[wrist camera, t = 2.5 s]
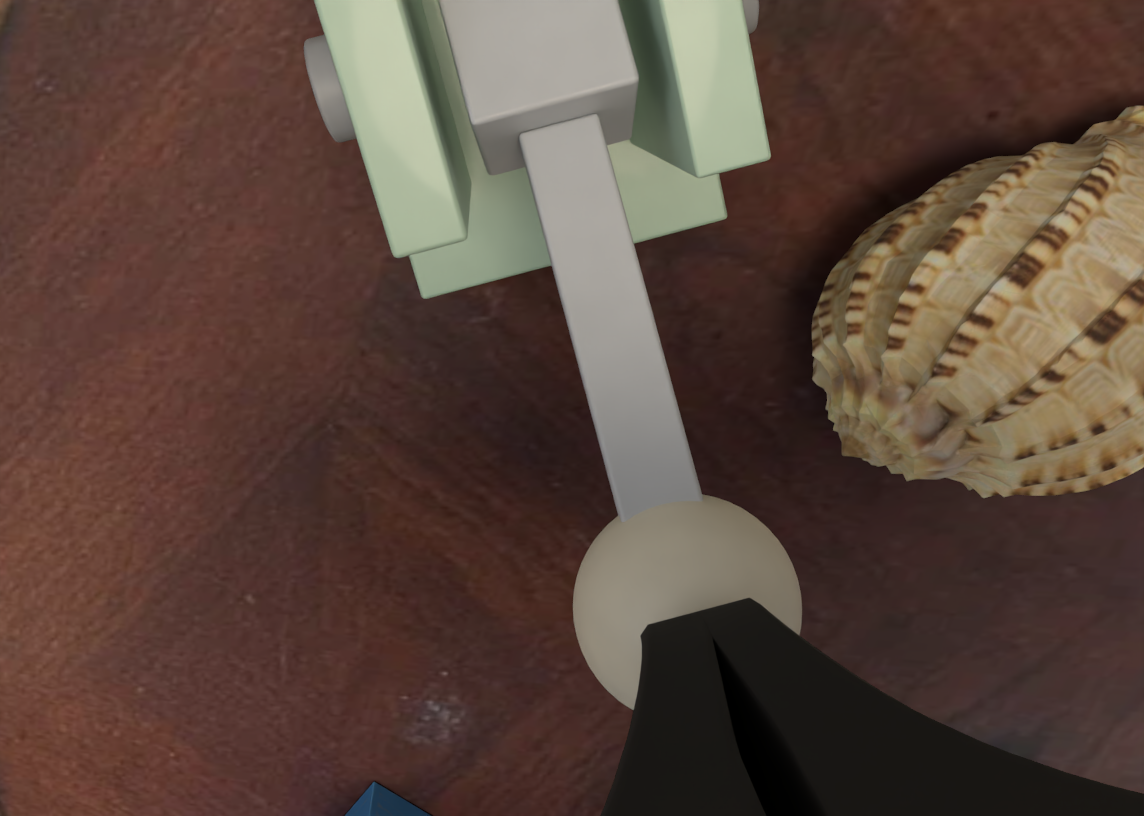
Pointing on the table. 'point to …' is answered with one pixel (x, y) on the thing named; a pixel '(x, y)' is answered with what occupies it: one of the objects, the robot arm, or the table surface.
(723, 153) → the bracket
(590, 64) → the lever
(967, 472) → the seashell
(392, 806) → the perfume bottle
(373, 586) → the table surface
